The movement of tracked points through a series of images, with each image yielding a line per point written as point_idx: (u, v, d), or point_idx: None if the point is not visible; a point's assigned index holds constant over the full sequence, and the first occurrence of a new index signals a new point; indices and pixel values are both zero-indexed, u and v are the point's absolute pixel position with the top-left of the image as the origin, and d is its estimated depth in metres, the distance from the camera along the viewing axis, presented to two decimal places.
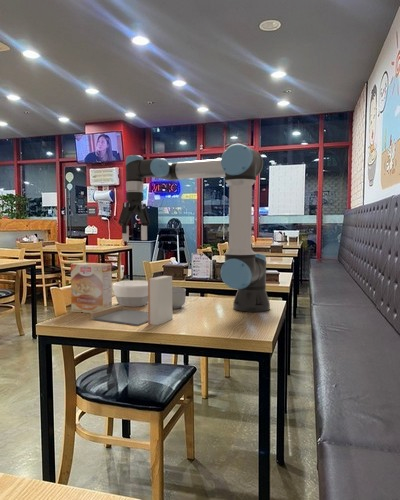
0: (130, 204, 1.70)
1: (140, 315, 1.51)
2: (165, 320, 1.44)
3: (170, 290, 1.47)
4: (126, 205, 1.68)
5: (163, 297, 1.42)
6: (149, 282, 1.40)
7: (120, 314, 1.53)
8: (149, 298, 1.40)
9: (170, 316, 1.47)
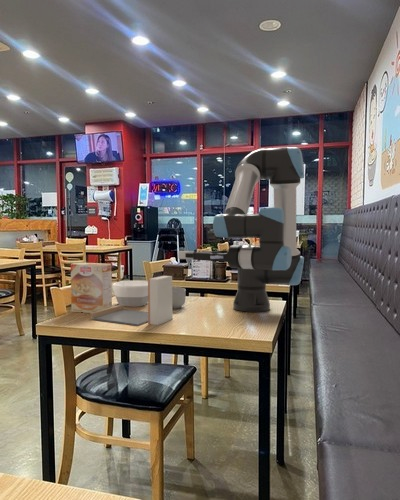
0: (219, 259, 1.28)
1: (140, 315, 1.51)
2: (165, 320, 1.44)
3: (170, 290, 1.47)
4: (210, 259, 1.28)
5: (163, 297, 1.42)
6: (149, 282, 1.40)
7: (120, 314, 1.53)
8: (149, 298, 1.40)
9: (170, 316, 1.47)
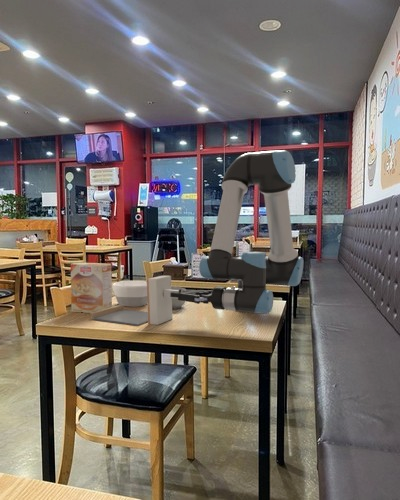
0: (203, 301, 1.32)
1: (140, 315, 1.51)
2: (165, 320, 1.44)
3: (170, 289, 1.47)
4: (195, 301, 1.31)
5: (162, 297, 1.42)
6: (148, 282, 1.40)
7: (120, 314, 1.53)
8: (148, 298, 1.40)
9: (170, 315, 1.47)
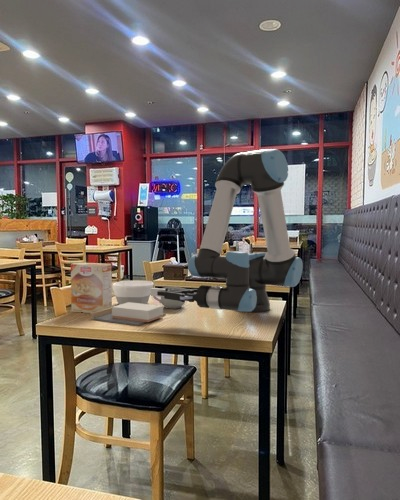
0: (188, 299, 1.34)
1: None
2: (154, 308, 1.45)
3: (137, 303, 1.54)
4: (180, 299, 1.34)
5: (133, 306, 1.48)
6: (114, 316, 1.47)
7: None
8: (127, 317, 1.45)
9: (158, 306, 1.49)
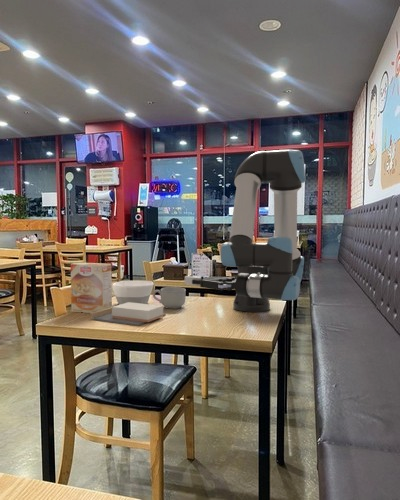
0: (227, 288, 1.28)
1: None
2: (154, 308, 1.45)
3: (137, 303, 1.54)
4: (218, 288, 1.27)
5: (133, 306, 1.48)
6: (114, 316, 1.47)
7: None
8: (127, 317, 1.45)
9: (158, 306, 1.49)
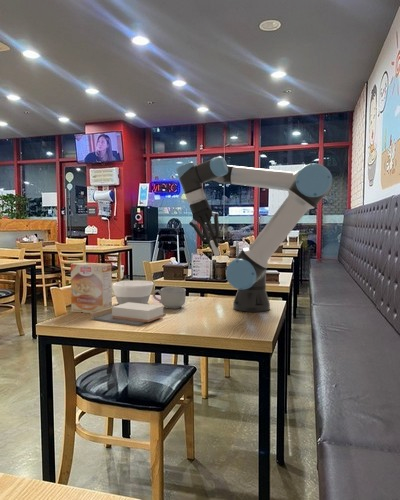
0: (193, 219, 1.62)
1: None
2: (154, 308, 1.45)
3: (137, 303, 1.54)
4: None
5: (133, 306, 1.48)
6: (114, 316, 1.47)
7: None
8: (127, 317, 1.45)
9: (158, 306, 1.49)
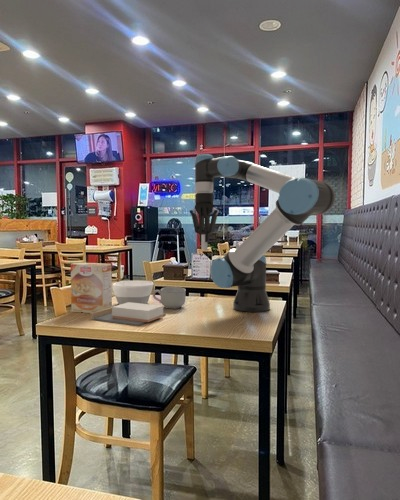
0: (195, 208, 1.66)
1: None
2: (154, 308, 1.45)
3: (137, 303, 1.54)
4: None
5: (133, 306, 1.48)
6: (114, 316, 1.47)
7: None
8: (127, 317, 1.45)
9: (158, 306, 1.49)
